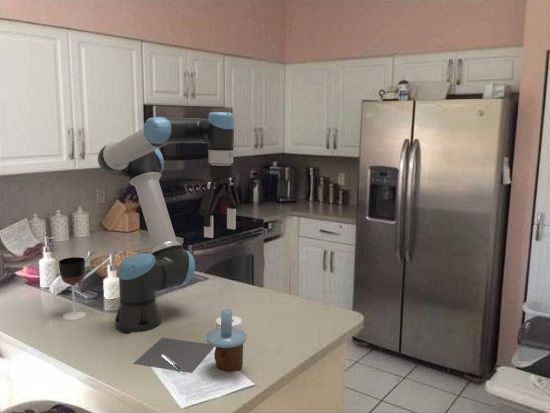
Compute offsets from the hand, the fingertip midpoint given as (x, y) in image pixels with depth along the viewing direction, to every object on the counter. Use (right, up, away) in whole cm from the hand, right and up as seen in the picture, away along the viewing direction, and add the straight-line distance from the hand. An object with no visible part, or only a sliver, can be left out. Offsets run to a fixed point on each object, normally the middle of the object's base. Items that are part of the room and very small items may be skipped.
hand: (220, 232), depth 154 cm
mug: (+3, -38, -14) cm, 41 cm away
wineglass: (-54, -30, +21) cm, 65 cm away
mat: (-12, -36, -6) cm, 39 cm away
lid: (+3, -29, -16) cm, 33 cm away
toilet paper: (+2, -35, +6) cm, 35 cm away
